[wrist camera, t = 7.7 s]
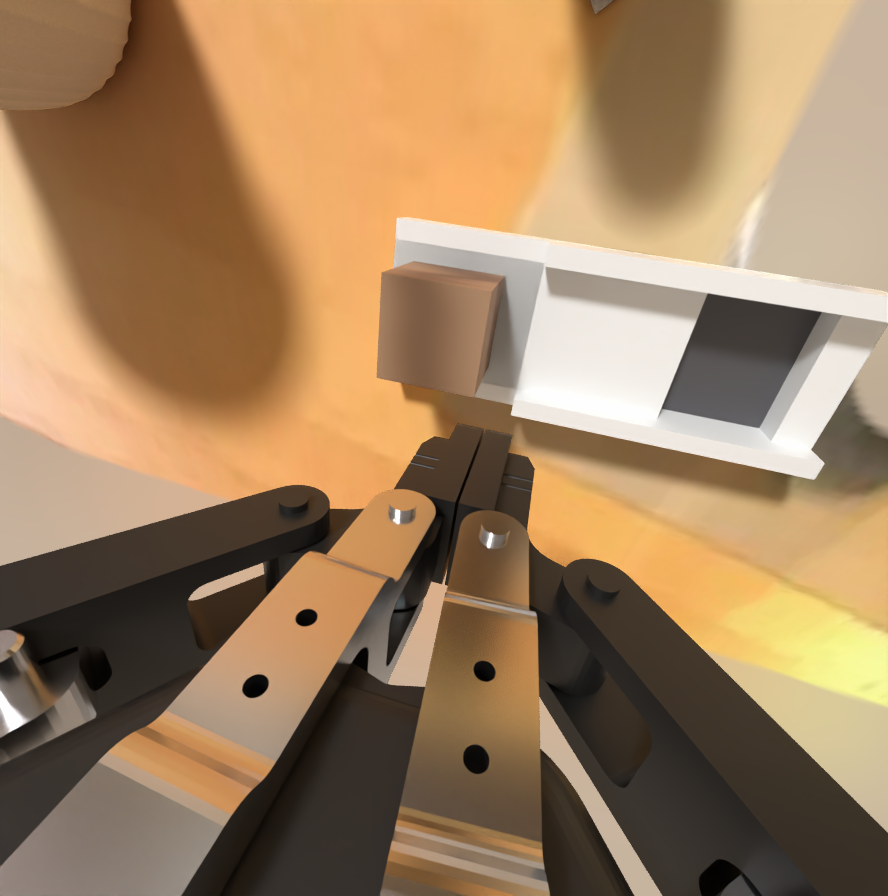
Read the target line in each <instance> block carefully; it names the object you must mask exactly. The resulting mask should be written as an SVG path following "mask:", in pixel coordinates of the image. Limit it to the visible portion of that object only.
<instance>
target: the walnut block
mask: <svg viewBox="0 0 888 896" xmlns="http://www.w3.org/2000/svg"><path fill="white" fill-rule="evenodd" d="M504 278H505V276H502V275H496V274H490V273H484V272H478V271H472V270H465V269H459V268H453V267H447V266H441V265H435V264H429V263H423V262H417V261H413V262H410V263H407V264H404V265H402V266H399V267H396V268H393V269H391V270H388V271H385V272H382V277H381V298H380V319H379V340H378V361H377V378H380V379H385V380H390V381H395V382H400V383H405V384H409V385H414V386H419V387H424V388H429V389H434V390H439V391H444V392H448V393H453V394H458V395H463V396H468V397H473V398H474V396H475V394H476V392H477V390H478V388H479V386H480V384H481V382H482V379H483V377H484V375H485V373H486V371H487V369H488V367H489V362H490V356H491V351H492V345H493V339H494V334H495V328H496V322H497V317H498V311H499V306H500V300H501V294H502V289H503V283H504Z"/></svg>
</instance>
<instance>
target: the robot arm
mask: <svg viewBox="0 0 888 896" xmlns="http://www.w3.org/2000/svg"><path fill="white" fill-rule="evenodd" d="M483 434H484V436H483ZM511 439H512V435H510V434H505V433H500V432H496V431H491V430H487V429H486V430H485V433H484V429H482V428H477V427H472V426H468V425H463V424H459V423H458V424H457V425H456V427H455V429H454V431H453V433H452V435H451V437H450V439H445V438H440V437H436V436H435V437H433V438H431V439H429V440H427V441H426V442H424V443H422V444H421V446H420V448H419V449H418V451H417V453H416V455H415V456H414V457H413V459H412V461H411V463H410V464H409V465H408V467H407V469H406V470H405V472H404V474H403V475H402V477H401V478H400V480H399V482H398V483H397V485H396V487H395V488H394V490H388V491H385V492H382V493H380V494H378V495H377V496H375V497H374V498H373V499H372V500H371V501H370V503H369V504H368V505H367V506H366V507H365V509H330V502H329V499H328V497H327V495H326V494H325V493H324V492H322V491H321V490H319V489H316V488H314V487H310V486H305V485H291V486H285V487H280V488H277V489H273V490H270V491H266V492H262V493H259V494H255V495H252V496H248V497H245V498H241V499H238V500H234V501H230V502H227V503H223V504H220V505H216V506H213V507H209V508H205V509H202V510H198V511H195V512H191V513H188V514H184V515H181V516H177V517H173V518H170V519H166V520H163V521H159V522H156V523H152V524H148V525H145V526H142V527H138V528H134V529H131V530H127V531H124V532H120V533H116V534H113V535H109V536H106V537H102V538H99V539H95V540H91V541H88V542H84V543H81V544H77V545H74V546H70V547H66V548H63V549H59V550H56V551H52V552H49V553H45V554H41V555H38V556H34V557H31V558H27V559H24V560H20V561H17V562H13V563H10V564H6V565H2V566H0V896H634V894H633V893H632V891H631V889H630V887H629V885H628V883H627V882H626V880H625V878H624V876H623V874H622V873H621V871H620V869H619V867H618V865H617V864H616V862H615V860H614V858H613V857H612V854H611V853H610V851H609V849H608V847H607V845H606V843H605V842H604V840H603V838H602V836H601V834H600V833H599V831H598V829H597V827H596V825H595V823H594V822H593V820H592V818H591V816H590V815H589V813H588V811H587V809H586V807H585V805H584V804H583V802H582V800H581V799H580V797H579V795H578V793H577V792H576V790H575V789H574V788H573V786H572V785H571V783H570V782H569V781H568V779H567V778H566V776H565V775H564V774H563V772H562V771H561V770H560V769H559V768H558V767H557V765H556V764H555V763H554V762H553V761H552V760H551V758H549V757H548V756H547V755H546V754H545V753H544V752H543V751H542V750H541V749H540V720H539V718H540V716H539V697H540V698H541V700H542V701H543V703H544V705H545V706H546V708H547V709H548V711H549V713H550V714H551V716H552V717H553V719H554V721H555V722H556V724H557V726H558V727H559V729H560V731H561V732H562V734H563V735H564V737H565V739H566V740H567V742H568V743H569V745H570V747H571V748H572V750H573V752H574V753H575V755H576V756H577V758H578V760H579V761H580V763H581V764H582V766H583V768H584V769H585V771H586V773H587V774H588V775H589V777H590V779H591V780H592V782H593V784H594V786H595V787H596V789H597V790H598V792H599V794H600V795H601V797H602V798H603V800H604V802H605V803H606V805H607V807H608V808H609V810H610V811H611V813H612V815H613V816H614V818H615V819H616V821H617V823H618V824H619V826H620V828H621V829H622V831H623V832H624V834H625V836H626V837H627V839H628V840H629V842H630V844H631V845H632V847H633V849H634V850H635V852H636V853H637V855H638V857H639V858H640V860H641V862H642V863H643V865H644V866H645V868H646V870H647V871H648V873H649V874H650V876H651V878H652V879H653V881H654V883H655V884H656V886H657V887H658V889H659V891H660V892H661V894H662V895H663V896H888V833H887V832H886V831H885V830H884V829H883V828H882V827H881V826H880V825H879V824H878V823H877V822H876V821H875V820H874V819H873V818H872V817H871V816H870V815H869V814H868V813H867V812H866V811H865V810H864V809H863V808H862V807H861V806H860V805H859V804H858V803H857V802H856V801H855V800H854V799H853V798H852V797H851V796H850V795H849V794H848V793H847V792H846V791H845V790H844V789H843V788H842V787H841V786H840V785H839V784H838V783H837V782H836V781H835V780H834V779H833V778H832V777H831V776H830V775H829V774H828V773H827V772H826V771H825V770H824V769H823V768H822V767H821V766H820V765H819V764H818V763H817V762H816V761H815V760H814V759H812V757H811V756H810V755H809V754H808V753H807V752H806V751H805V750H804V749H803V748H802V747H801V746H800V745H798V743H797V742H795V740H793V739H792V738H791V737H790V736H789V735H788V734H787V733H786V732H785V731H784V730H783V729H782V728H781V727H780V726H779V725H778V724H777V723H776V722H775V721H774V720H773V719H772V718H771V717H770V716H769V715H768V714H767V713H766V712H765V711H764V710H763V709H762V708H761V707H760V706H759V705H758V704H757V703H756V702H755V701H754V700H753V699H752V698H751V697H750V696H749V695H748V694H747V693H746V692H745V691H744V690H743V689H742V688H741V687H740V686H739V685H738V684H737V683H736V682H735V681H734V680H733V679H732V678H731V677H730V676H729V675H728V674H727V673H726V672H725V671H724V670H723V669H722V668H721V667H720V666H719V665H718V664H717V663H716V662H715V661H714V660H713V659H712V658H711V657H710V656H709V655H708V654H707V653H706V652H705V651H704V650H703V649H702V648H701V647H700V646H699V645H698V644H697V643H696V642H695V641H694V640H693V639H692V638H691V637H690V636H689V635H688V634H687V633H685V632H684V631H683V630H682V629H681V628H680V627H679V626H678V625H677V624H676V623H675V622H674V621H673V620H672V619H671V618H670V617H669V616H668V615H667V614H666V613H665V612H664V611H663V610H662V609H661V608H660V607H659V606H658V605H657V604H656V603H655V602H654V601H653V600H652V599H651V598H650V597H649V596H648V595H647V594H646V593H645V592H644V591H643V590H642V589H641V588H640V587H639V586H638V585H637V584H636V583H635V582H634V581H633V580H632V579H631V578H630V577H629V576H628V575H627V574H625V573H624V572H623V571H621V570H620V569H618V568H616V567H615V566H613V565H611V564H608V563H606V562H603V561H599V560H595V559H580V560H576V561H573V562H571V563H570V564H568V566H567V567H564V566H562V565H560V564H558V563H556V562H554V561H552V560H550V559H549V558H547V557H545V556H544V555H543V554H541V553H540V552H539V551H538V550H537V549H536V548H535V547H534V546H533V544H532V543H531V541H530V540H529V536H528V533H527V525H528V517H529V509H530V501H531V493H532V485H533V477H534V470H535V469H534V467H533V465H532V463H531V462H530V460H529V458H528V457H525V456H521V455H516V454H512V453H508V452H509V448H510V444H511ZM260 563H263V565H264V575H261V576H259V577H256V578H253V579H251V580H248V581H246V582H243V583H240V584H238V585H235V586H233V587H230V588H227V589H225V590H222V591H220V592H217V593H215V594H212V595H210V596H207V597H204V598H202V599H199V600H194V601H189V600H188V599H189V597H190V595H191V594H192V593H193V592H194V591H195V590H196V589H197V588H199V587H200V586H202V585H204V584H206V583H209V582H212V581H214V580H217V579H220V578H222V577H225V576H228V575H231V574H233V573H236V572H239V571H241V570H244V569H247V568H249V567H252V566H255V565H258V564H260ZM447 567H448V569H447ZM446 570H447V575H446V581H445V585H447V586H448V588H447V592H446V593H445V597H444V602H443V606H442V611H441V616H440V621H439V625H438V630H437V634H436V639H435V644H434V648H433V654H432V658H431V662H430V668H429V672H428V677H427V681H426V686H425V687H416V686H415V687H414V686H396V685H389V684H388V681H389V678H390V676H391V674H392V672H393V670H394V668H395V665H396V663H397V661H398V659H399V657H400V655H401V652H402V650H403V648H404V646H405V644H406V642H407V640H408V638H409V636H410V633H411V631H412V629H413V627H414V625H415V623H416V621H417V618H418V616H419V614H420V612H421V610H422V607H423V599H424V598H425V596H426V594H427V591H428V589H429V586H430V583H431V581H432V582H436V583H439V584H442V582H443V579H444V576H445V573H446Z"/></svg>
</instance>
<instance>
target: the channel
mask: <svg viewBox="0 0 888 896" xmlns="http://www.w3.org/2000/svg"><path fill="white" fill-rule="evenodd" d="M413 261H417V262H423V263H429V264H435V265H441V266H447V267H453V268H459V269H465V270H472V271H478V272H484V273H490V274H496V275H502V276H505V278H504V283H503V289H502V294H501V300H500V306H499V311H498V317H497V322H496V328H495V334H494V339H493V345H492V351H491V356H490V362H489V367H488V369H487V371H486V373H485V375H484V377H483V379H482V382H481V384H480V386H479V388H478V390H477V392H476V394H475V396H474V397H476V398H481V399H486V400H491V401H495V402H500V403H505V404H510V405H513V407H512V411H511V415H512V416H517V417H521V418H526V419H531V420H535V421H540V422H545V423H550V424H554V425H559V426H564V427H568V428H573V429H578V430H583V431H587V432H592V433H597V434H601V435H606V436H611V437H615V438H620V439H625V440H630V441H634V442H639V443H644V444H648V445H653V446H658V447H663V448H667V449H672V450H677V451H681V452H686V453H691V454H695V455H700V456H705V457H710V458H714V459H719V460H724V461H728V462H733V463H738V464H743V465H747V466H752V467H757V468H761V469H766V470H771V471H776V472H780V473H785V474H790V475H794V476H799V477H804V478H808V479H813V480H814V479H815V478H816V476H817V475H818V473H819V472H820V470H821V468H822V467H823V465H824V464H825V463H824V462H823V461H822V460H821V459H820V458H819V457H818V456H817V455H816V454H815V453H813V452H812V451H811V449H812V447H813V445H814V444H815V442H816V441H817V439H818V437H819V436H820V434H821V432H822V431H823V429H824V428H825V426H826V424H827V423H828V421H829V420H830V418H831V416H832V415H833V413H834V411H835V410H836V408H837V407H838V405H839V403H840V402H841V400H842V399H843V397H844V395H845V394H846V392H847V390H848V389H849V387H850V386H851V384H852V382H853V381H854V379H855V378H856V376H857V374H858V373H859V371H860V369H861V368H862V366H863V365H864V363H865V361H866V360H867V358H868V356H869V355H870V353H871V352H872V350H873V348H874V347H875V345H876V344H877V342H878V340H879V339H880V337H881V336H882V334H883V332H884V331H885V329H886V327H887V326H888V292H885V291H881V290H876V289H869V288H863V287H857V286H849V285H843V284H836V283H830V282H824V281H817V280H811V279H804V278H798V277H792V276H785V275H778V274H772V273H766V272H759V271H753V270H747V269H740V268H734V267H727V266H721V265H714V264H708V263H701V262H695V261H688V260H682V259H675V258H669V257H663V256H656V255H650V254H643V253H637V252H630V251H624V250H617V249H611V248H604V247H598V246H591V245H585V244H578V243H572V242H565V241H559V240H553V239H546V238H540V237H533V236H527V235H520V234H514V233H507V232H501V231H494V230H488V229H481V228H475V227H468V226H462V225H456V224H449V223H443V222H436V221H430V220H423V219H417V218H410V217H404V218H397V225H396V240H395V256H394V268H396V267H399V266H402V265H404V264H407V263H410V262H413Z"/></svg>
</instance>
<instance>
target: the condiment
mask: <svg viewBox="0 0 888 896" xmlns="http://www.w3.org/2000/svg"><path fill="white" fill-rule="evenodd" d="M612 1H613V0H590V2H591V4H592V7H593V10H594V12H595V14H596V13H598V12H599V11H600V10H602V9H603V8H604V7H606V6H607V5H608V4H609V3H611V2H612Z"/></svg>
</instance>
